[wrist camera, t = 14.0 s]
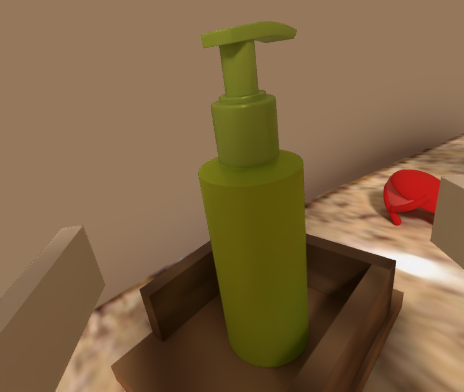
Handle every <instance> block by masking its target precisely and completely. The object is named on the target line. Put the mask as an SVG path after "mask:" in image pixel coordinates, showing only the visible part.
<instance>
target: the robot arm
mask: <svg viewBox="0 0 464 392" xmlns="http://www.w3.org/2000/svg"><path fill="white" fill-rule="evenodd" d="M430 241H431V242H433V243H434V244H435V245H436V246H437V247H438V248H440V249H441V250H442V251H443V252H444V253H445V254H447V255H448V256H449V257H450V258H451V259H453V260H454V261H455V262H456V263H457V264H458V265H460V266H461V267H462V268H463V269H464V175H463V174H458V175H451V176H443V177H441V182H440V188H439V193H438V199H437V205H436V211H435V217H434V222H433V228H432V234H431V240H430ZM104 286H105V283H104V280H103V277H102V275H101V272H100V269H99V267H98V264H97V261H96V259H95V256H94V253H93V251H92V248H91V245H90V243H89V240H88V237H87V235H86V232H85V229H84V227H83V225H81V226H74V227H67V228H62V229H61V230H60V231H59V232H58V233H57V235H56V236H55V237H54V238H53V239H52V240H51V242H50V243H49V244H48V245H47V246H46V247H45V248H44V249H43V251H42V252H41V253H40V254H39V255H38V256H37V257H36V259H35V260H34V261H33V262H32V263H31V264H30V265H29V267H28V268H27V269H26V270H25V271H24V272H23V273H22V275H21V276H20V277H19V278H18V279H17V280H16V281H15V283H14V284H13V285H12V286H11V287H10V288H9V289H8V291H7V292H6V293H5V294H4V295H3V297H1V299H0V392H55V390H56V388H57V386H58V384H59V382H60V380H61V378H62V376H63V373H64V371H65V369H66V367H67V365H68V363H69V361H70V359H71V356H72V354H73V352H74V350H75V348H76V346H77V344H78V342H79V339H80V337H81V335H82V333H83V331H84V329H85V327H86V325H87V322H88V320H89V318H90V316H91V314H92V312H93V310H94V308H95V305H96V303H97V301H98V299H99V297H100V295H101V293H102V291H103V288H104Z"/></svg>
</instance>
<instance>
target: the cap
mask: <svg viewBox="0 0 464 392" xmlns="http://www.w3.org/2000/svg"><path fill="white" fill-rule="evenodd" d="M440 182H441V181H440V180H439V179H437V178H436V177H434V176H432V175H430V174H428V173H425V172H422V171H418V170H399V171H397V172H395V173H394V174H393V175H392V176H391V177H390V178H389V179H388V181H387V183H386V184H385V186H384V203H385V206H386V208H387V211H388V213H389V215H390V217H391V219H392V221H393V223H394V225H400V224H401V220H400V218H399V216H398V214H397V212H406V211H411V210H414V209H417V208H421V209H423V210H426V211H428V212H431V213H434V214H435V211H436V205H437V199H438V193H439V188H440Z"/></svg>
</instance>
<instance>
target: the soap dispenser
mask: <svg viewBox="0 0 464 392" xmlns="http://www.w3.org/2000/svg"><path fill="white" fill-rule="evenodd" d="M296 32H297V30H296V29H294V28H292V27H290V26H288V25H285V24H282V23H278V22H257V23H251V24H246V25H241V26H237V27H232V28H227V29H222V30H218V31H213V32H209V33H205V34H202V35H201V38H202V44H203V48H207V47H214V46H219V48H220V56H221V63H222V71H223V78H224V86H225V93H226V94H224V95H221V96H220V97H219V101H216V102H214V103H213V104H212V105H211V111H212V118H213V125H214V131H215V138H216V144H217V151H218V157H217V158H214V159H212V160H210V161H208V162H207V163H205V164H204V165H203V166H202V167H201V168H200V169H199V172H198V175H199V180H200V186H201V191H202V196H203V202H204V207H205V213H206V218H207V224H208V229H209V234H210V240H211V245H212V251H213V256H214V262H215V267H216V272H217V278H218V283H219V289H220V294H221V299H222V305H223V310H224V316H225V321H226V326H227V332H228V337H229V342H230V345H231V347H232V349H233V350H234V352H235V353H236V354H237V355H238V356H239V357H240V358H241V359H243V360H244V361H246V362H248V363H250V364H252V365H255V366H259V367H278V366H282V365H285V364H287V363H289V362H291V361H293V360H294V359H296V358H297V357H298V356H299V355H300V354H301V353H302V352H303V350H304V349H305V347H306V345H307V342H308V337H309V326H308V295H307V264H306V232H305V201H304V171H303V160H302V159H301V157H300V156H298V155H297V154H295V153H292V152H289V151H285V150H279V140H278V124H277V109H276V99H275V96H273V95H269V94H266V91H264V90H258V79H257V68H256V56H255V45H254V40H256V41H260V42H264V43H269V42H275V41H282V40H287V39H293V38H294V37H295V35H296Z"/></svg>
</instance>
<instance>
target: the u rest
mask: <svg viewBox="0 0 464 392" xmlns="http://www.w3.org/2000/svg"><path fill="white" fill-rule="evenodd" d="M306 264H307V295H308V326H309V337H308V342H307V345H306V347H305V349H304V350H303V352H302V353H301V354H300V355H299V356H298V357H297V358H296V359H294V360H293V361H291V362H289V363H287V364H285V365H282V366H278V367H259V366H255V365H252V364H250V363H248V362H246V361H244V360H243V359H241V358H240V357H239V356H238V355H237V354H236V353H235V352H234V350H233V349H232V347H231V345H230V342H229V337H228V332H227V326H226V321H225V316H224V310H223V305H222V299H221V294H220V289H219V283H218V278H217V272H216V267H215V262H214V256H213V251H212V245H211V240H210V241H209V242H208V243H206V244H204V245H203V246H202V247H200V248H199V249H197V250H196V251H194V252H193V253H191V254H190V255H189V256H187V257H186V258H184V259H183V260H181V261H180V262H178V263H177V264H176V265H174V266H173V267H171V268H170V269H168V270H167V271H165V272H164V273H163V274H161V275H160V276H158V277H157V278H155V279H154V280H152V281H151V282H150V283H148V284H147V285H145V286H144V287H142V288H141V289H139V290H140V293H141V296H142V299H143V302H144V305H145V308H146V312H147V315H148V318H149V321H150V324H151V327H152V330H153V332H152V333H151V334H149V335H148V336H147V337H146V338H145V339H143V340H142V341H141V342H140V343H138V344H137V345H136V346H135V347H134V348H132V349H131V350H130V351H129V352H128V353H126V354H125V355H124V356H123V357H121V358H120V359H119V360H118V361H117V362H115V363H114V364H113V365H112V366H111V368H112V370H113V372H114V375H115V377H116V379H117V381H118V382H119V383H120V384H121V385H122V387H123V388H124V389H125V390H126V391H127V392H361V391H362V389H363V387H364V385H365V383H366V381H367V379H368V376H369V374H370V372H371V370H372V368H373V366H374V364H375V362H376V360H377V358H378V355H379V353H380V351H381V349H382V347H383V345H384V343H385V341H386V339H387V337H388V334H389V332H390V330H391V328H392V326H393V324H394V322H395V320H396V318H397V316H398V313H399V311H400V309H401V307H402V301H403V294H404V293H403V292H400V291H397V290H395V289H393V283H394V275H395V266H396V260H392V259H389V258H386V257H382V256H379V255H376V254H372V253H369V252H366V251H362V250H359V249H356V248H352V247H349V246H346V245H342V244H339V243H336V242H332V241H329V240H326V239H322V238H319V237H316V236H312V235H309V234H306Z"/></svg>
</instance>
